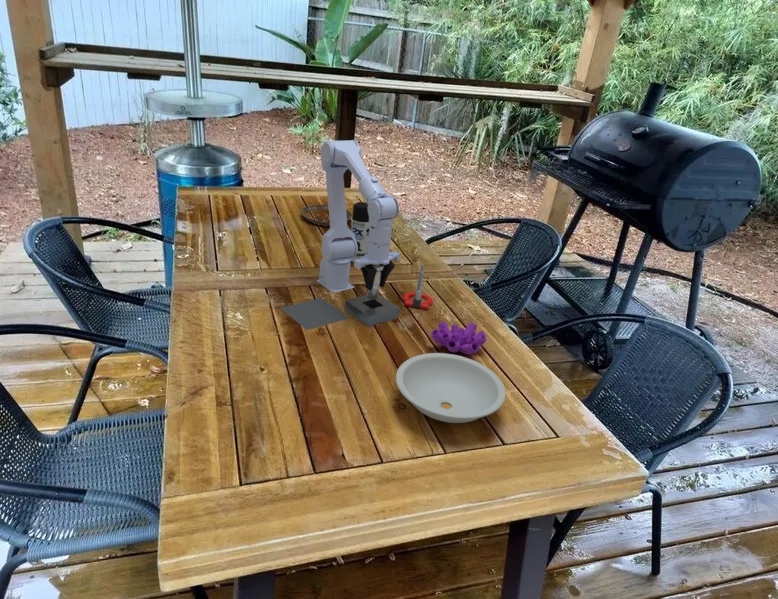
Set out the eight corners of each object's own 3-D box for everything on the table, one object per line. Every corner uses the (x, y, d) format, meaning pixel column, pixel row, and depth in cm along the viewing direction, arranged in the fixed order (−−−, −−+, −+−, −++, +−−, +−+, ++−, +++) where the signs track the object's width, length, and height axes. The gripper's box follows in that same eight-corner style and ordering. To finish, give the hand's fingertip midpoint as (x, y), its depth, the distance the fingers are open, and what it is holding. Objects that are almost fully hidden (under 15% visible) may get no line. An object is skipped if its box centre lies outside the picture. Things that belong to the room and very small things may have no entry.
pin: (362, 295, 157) (367, 262, 153) (372, 293, 159) (377, 260, 155) (371, 301, 154) (376, 268, 150) (382, 299, 157) (387, 266, 153)
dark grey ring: (349, 231, 221) (350, 223, 219) (297, 225, 220) (297, 217, 219) (353, 215, 239) (353, 207, 238) (304, 210, 238) (305, 202, 237)
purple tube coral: (482, 364, 149) (493, 351, 140) (427, 362, 147) (435, 349, 138) (478, 325, 154) (489, 310, 145) (425, 322, 152) (433, 307, 143)
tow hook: (404, 293, 176) (400, 306, 167) (410, 252, 170) (407, 262, 161) (433, 298, 175) (430, 311, 166) (440, 257, 169) (438, 267, 160)
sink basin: (488, 457, 111) (495, 431, 108) (376, 421, 118) (379, 395, 115) (507, 393, 132) (513, 370, 129) (411, 365, 138) (415, 342, 135)
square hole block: (344, 311, 160) (345, 300, 158) (374, 302, 167) (375, 292, 165) (368, 327, 153) (369, 316, 151) (398, 318, 159) (400, 307, 158)
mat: (279, 309, 156) (279, 308, 156) (321, 298, 165) (321, 297, 165) (306, 331, 147) (307, 330, 147) (349, 319, 156) (349, 317, 156)
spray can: (345, 260, 193) (349, 204, 184) (353, 254, 199) (358, 200, 190) (362, 265, 191) (368, 209, 182) (370, 259, 197) (376, 204, 188)
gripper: (367, 250, 143) (362, 298, 149) (409, 242, 152) (403, 287, 158) (351, 241, 147) (347, 288, 153) (392, 234, 156) (387, 278, 162)
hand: (374, 287), depth 156 cm, fingers closed on pin, 4 cm apart
